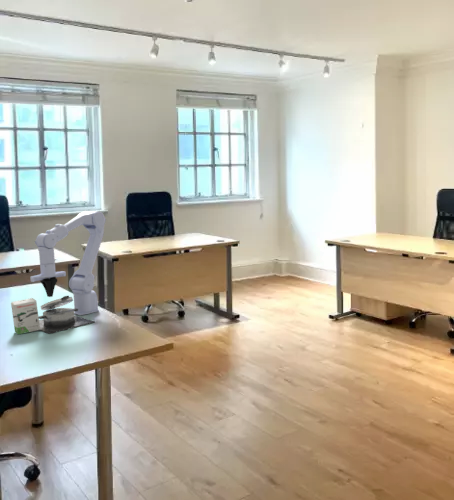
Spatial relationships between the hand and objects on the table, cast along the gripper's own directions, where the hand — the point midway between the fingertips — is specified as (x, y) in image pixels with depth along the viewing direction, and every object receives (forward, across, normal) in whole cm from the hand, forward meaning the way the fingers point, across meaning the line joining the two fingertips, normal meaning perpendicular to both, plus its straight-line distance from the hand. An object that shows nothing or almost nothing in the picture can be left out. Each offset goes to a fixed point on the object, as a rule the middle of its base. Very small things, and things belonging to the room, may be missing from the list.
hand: (50, 296), depth 235 cm
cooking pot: (+10, 0, +6) cm, 12 cm away
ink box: (+10, +13, +6) cm, 18 cm away
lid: (+2, 0, +6) cm, 7 cm away
